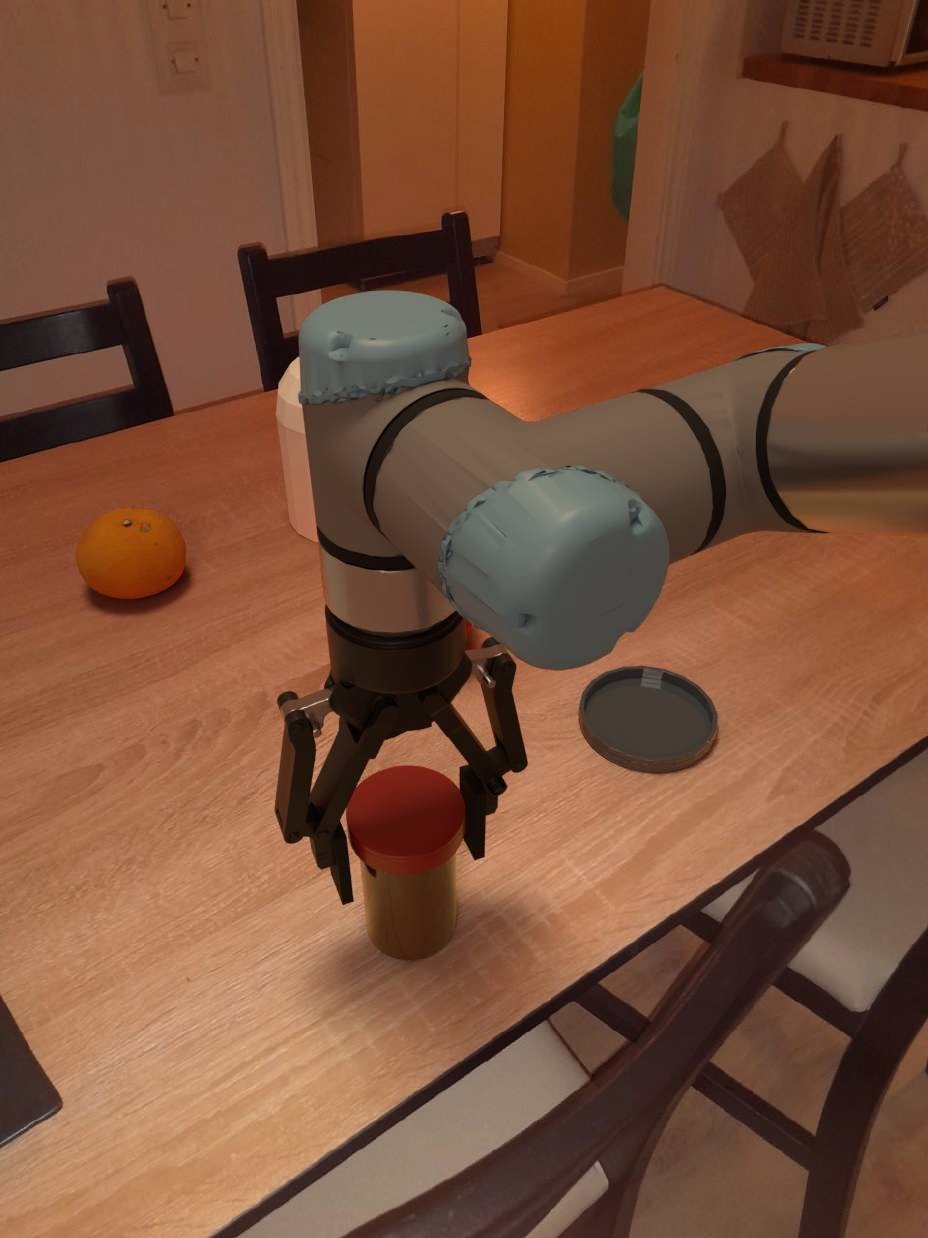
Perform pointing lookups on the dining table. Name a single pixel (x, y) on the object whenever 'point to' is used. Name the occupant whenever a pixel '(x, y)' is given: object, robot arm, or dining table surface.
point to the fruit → (131, 553)
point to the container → (295, 454)
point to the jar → (410, 910)
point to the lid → (406, 820)
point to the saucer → (647, 719)
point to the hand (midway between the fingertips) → (408, 865)
